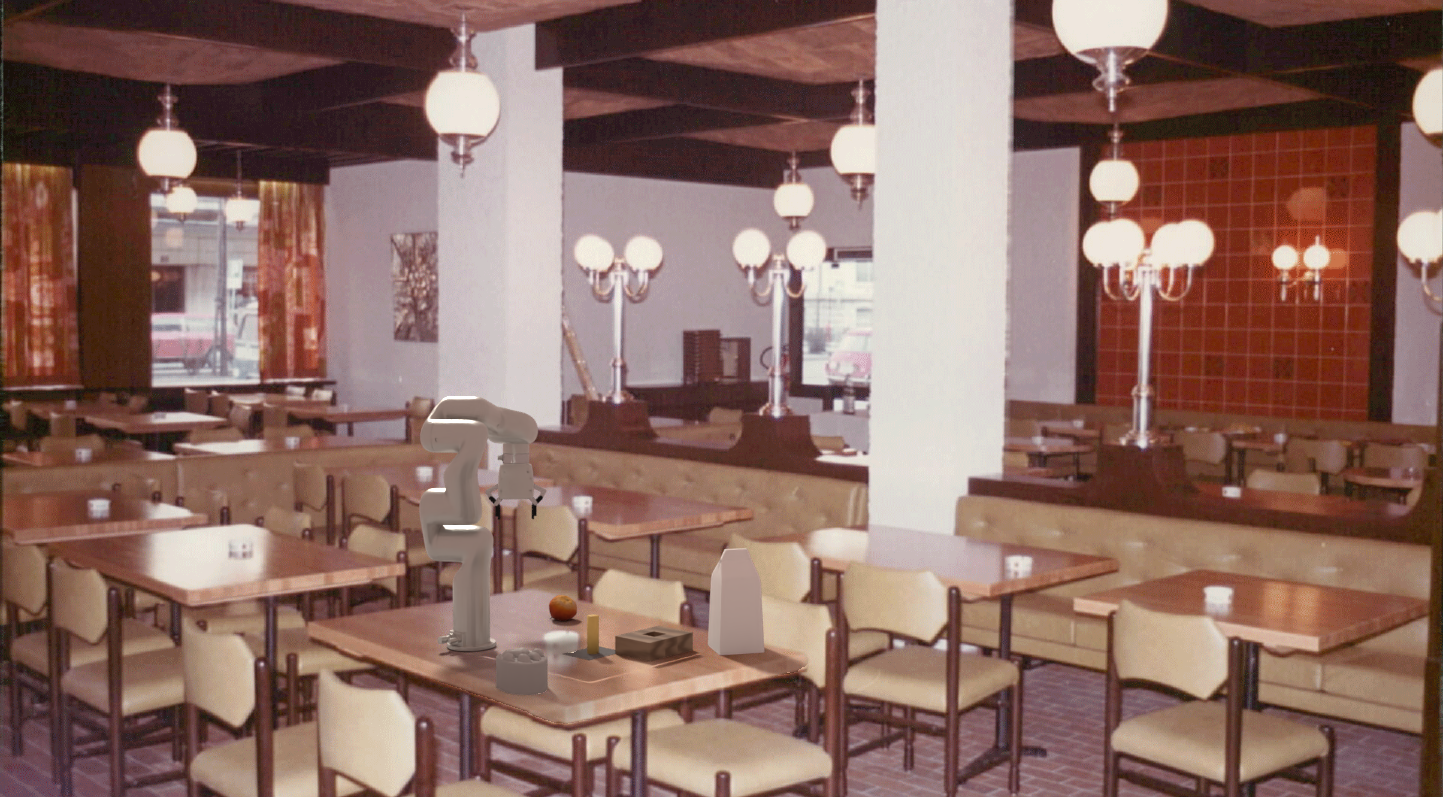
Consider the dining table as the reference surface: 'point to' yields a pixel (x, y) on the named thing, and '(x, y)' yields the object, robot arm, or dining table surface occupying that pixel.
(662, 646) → the hole block
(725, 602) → the milk
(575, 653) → the mat
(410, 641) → the dining table surface
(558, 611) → the fruit
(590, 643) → the peg
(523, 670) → the lumpy-topped squat cylinder
